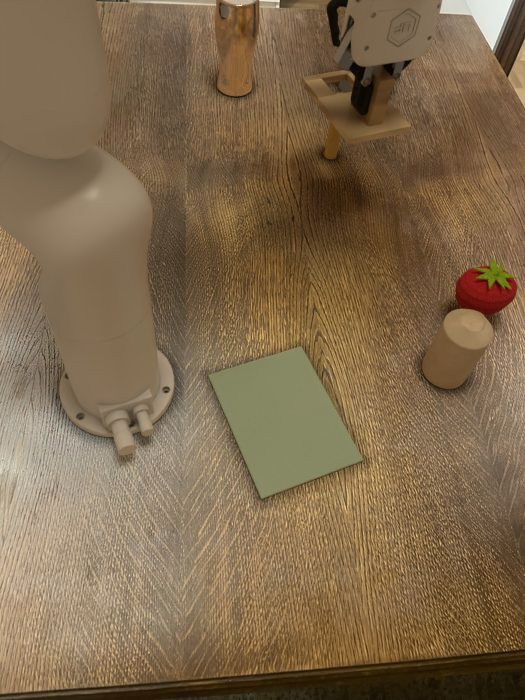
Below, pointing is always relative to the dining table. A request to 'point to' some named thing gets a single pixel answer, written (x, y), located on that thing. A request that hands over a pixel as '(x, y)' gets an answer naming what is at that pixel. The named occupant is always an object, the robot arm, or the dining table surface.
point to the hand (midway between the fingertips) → (368, 106)
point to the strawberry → (486, 289)
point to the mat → (283, 421)
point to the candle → (457, 348)
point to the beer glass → (236, 44)
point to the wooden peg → (332, 141)
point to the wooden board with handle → (344, 115)
